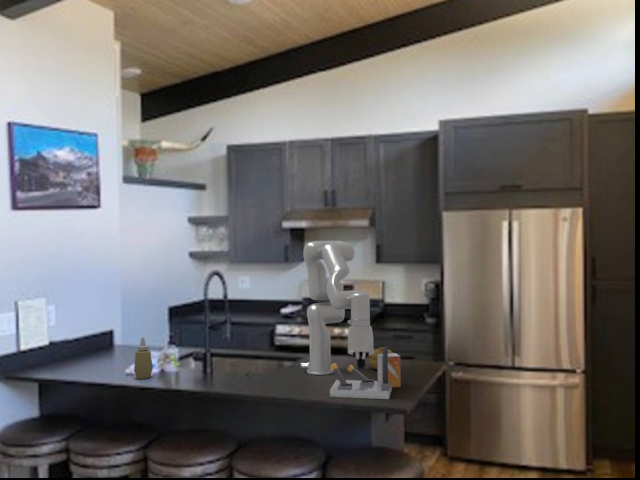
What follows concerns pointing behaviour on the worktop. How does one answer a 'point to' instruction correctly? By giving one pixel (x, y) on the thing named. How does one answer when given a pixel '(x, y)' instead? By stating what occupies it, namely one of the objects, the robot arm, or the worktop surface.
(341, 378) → the orange tipped lever
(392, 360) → the small box
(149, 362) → the squeeze bottle
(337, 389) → the panel
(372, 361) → the pot
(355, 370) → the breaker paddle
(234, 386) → the worktop surface
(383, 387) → the post
